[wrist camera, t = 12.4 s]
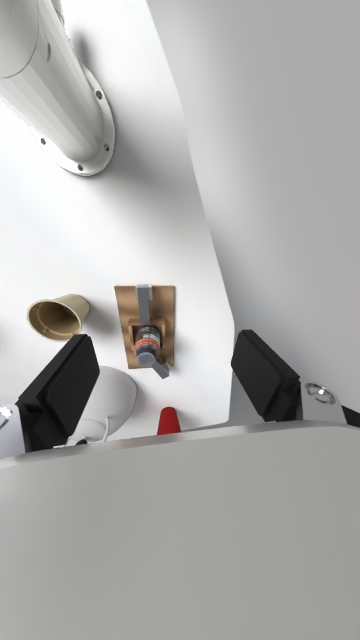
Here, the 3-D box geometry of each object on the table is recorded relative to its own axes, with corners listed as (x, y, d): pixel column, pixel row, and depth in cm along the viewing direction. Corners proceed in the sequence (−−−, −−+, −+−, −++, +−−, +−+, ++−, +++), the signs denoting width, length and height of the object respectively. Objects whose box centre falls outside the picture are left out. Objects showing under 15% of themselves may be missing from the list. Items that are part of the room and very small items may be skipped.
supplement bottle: (146, 344, 44) (142, 374, 34) (133, 329, 41) (124, 358, 31) (163, 334, 43) (164, 362, 33) (151, 319, 40) (148, 344, 30)
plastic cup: (149, 416, 61) (147, 453, 50) (162, 400, 57) (163, 436, 46) (172, 421, 64) (175, 457, 54) (186, 407, 61) (191, 441, 50)
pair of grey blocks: (136, 282, 36) (133, 287, 32) (169, 282, 36) (171, 287, 32) (145, 369, 48) (144, 381, 44) (170, 368, 49) (171, 379, 45)
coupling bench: (115, 285, 36) (111, 289, 33) (173, 285, 38) (174, 289, 35) (129, 367, 48) (127, 375, 45) (173, 364, 50) (173, 372, 47)
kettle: (98, 421, 59) (65, 513, 39) (44, 391, 49) (-37, 493, 29) (150, 393, 55) (144, 479, 35) (103, 353, 45) (57, 443, 25)
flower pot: (105, 306, 38) (91, 322, 31) (82, 329, 40) (64, 349, 33) (69, 278, 34) (43, 289, 27) (46, 305, 37) (16, 322, 29)
